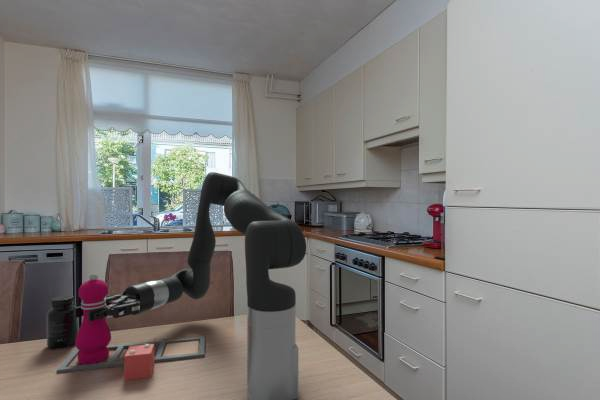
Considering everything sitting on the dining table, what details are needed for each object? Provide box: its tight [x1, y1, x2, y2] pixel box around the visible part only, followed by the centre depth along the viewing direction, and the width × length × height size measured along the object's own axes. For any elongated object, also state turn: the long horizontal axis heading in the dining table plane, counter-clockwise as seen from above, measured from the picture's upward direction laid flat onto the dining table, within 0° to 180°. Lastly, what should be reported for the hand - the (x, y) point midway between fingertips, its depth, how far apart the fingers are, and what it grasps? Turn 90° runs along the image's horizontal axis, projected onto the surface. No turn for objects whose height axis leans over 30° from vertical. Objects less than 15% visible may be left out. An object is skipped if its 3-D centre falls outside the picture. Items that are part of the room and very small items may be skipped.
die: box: [123, 344, 155, 381], centre depth 74 cm, size 5×5×6 cm
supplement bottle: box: [46, 294, 80, 350], centre depth 89 cm, size 7×7×12 cm
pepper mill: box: [74, 272, 112, 365], centre depth 81 cm, size 7×7×20 cm
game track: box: [56, 336, 206, 374], centre depth 83 cm, size 31×11×1 cm, turn 105°
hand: (82, 314), depth 79 cm, fingers closed on pepper mill, 4 cm apart
